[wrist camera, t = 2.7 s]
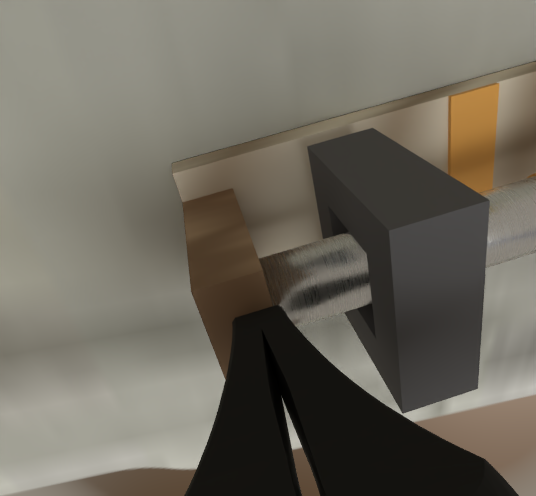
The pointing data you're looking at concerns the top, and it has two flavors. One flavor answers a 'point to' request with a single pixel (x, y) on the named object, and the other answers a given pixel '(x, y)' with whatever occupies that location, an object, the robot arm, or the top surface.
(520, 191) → the pipe stand
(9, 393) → the top surface
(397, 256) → the collar
